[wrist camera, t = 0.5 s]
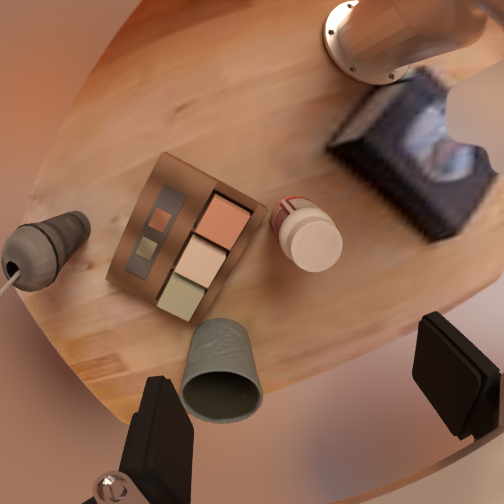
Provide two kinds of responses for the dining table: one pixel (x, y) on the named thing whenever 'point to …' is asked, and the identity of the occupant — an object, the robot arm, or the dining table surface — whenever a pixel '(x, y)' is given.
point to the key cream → (200, 261)
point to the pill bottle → (306, 234)
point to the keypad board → (175, 231)
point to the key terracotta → (222, 222)
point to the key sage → (181, 296)
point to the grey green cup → (220, 374)
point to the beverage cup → (42, 250)
